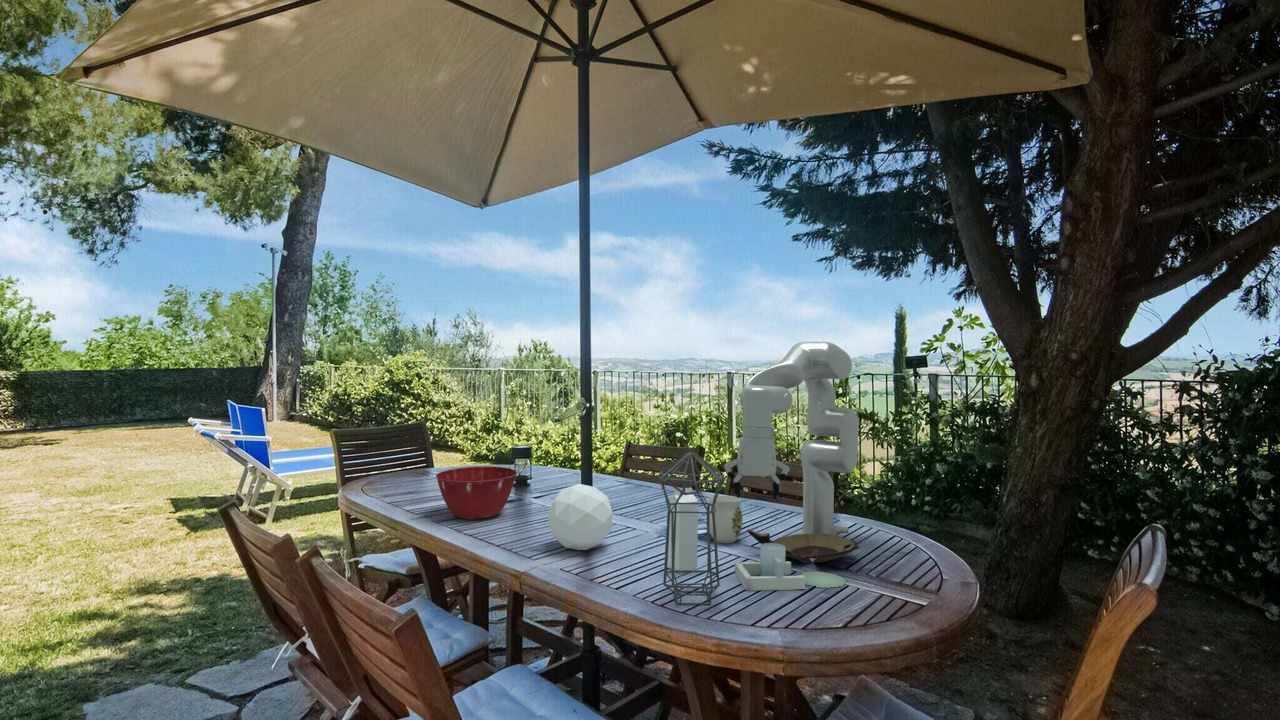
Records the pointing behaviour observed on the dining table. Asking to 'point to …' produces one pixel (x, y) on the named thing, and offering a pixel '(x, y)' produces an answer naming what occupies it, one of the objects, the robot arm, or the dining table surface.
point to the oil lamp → (810, 545)
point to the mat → (822, 579)
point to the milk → (684, 533)
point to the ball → (580, 517)
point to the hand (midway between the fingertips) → (756, 497)
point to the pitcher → (726, 518)
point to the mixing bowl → (476, 490)
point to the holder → (766, 578)
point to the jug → (772, 560)
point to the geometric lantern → (719, 479)
